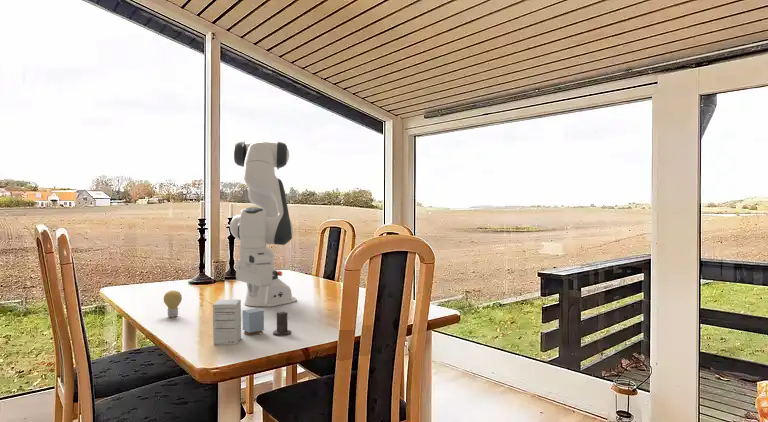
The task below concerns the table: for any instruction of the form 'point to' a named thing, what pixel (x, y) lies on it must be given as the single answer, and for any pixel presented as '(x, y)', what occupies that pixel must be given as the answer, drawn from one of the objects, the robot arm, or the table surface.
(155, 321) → the table surface
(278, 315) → the black post
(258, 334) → the walnut post
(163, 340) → the table surface
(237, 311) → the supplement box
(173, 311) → the light bulb
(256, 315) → the cap
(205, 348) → the table surface
